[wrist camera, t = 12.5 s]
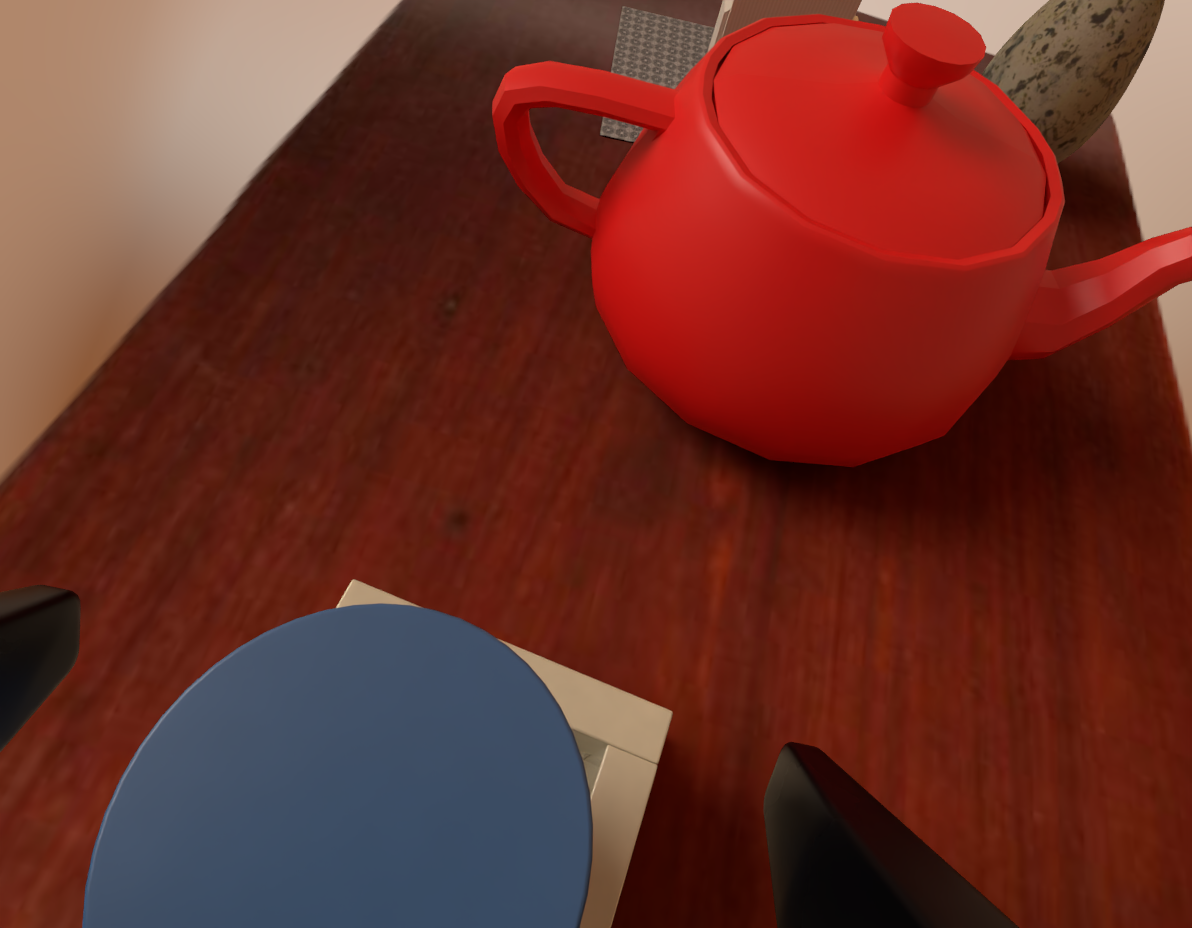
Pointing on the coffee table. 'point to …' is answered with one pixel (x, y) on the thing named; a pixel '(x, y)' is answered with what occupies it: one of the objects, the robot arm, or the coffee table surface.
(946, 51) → the teapot
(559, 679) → the holder
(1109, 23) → the decorative egg
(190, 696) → the cylinder
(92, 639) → the coffee table surface
